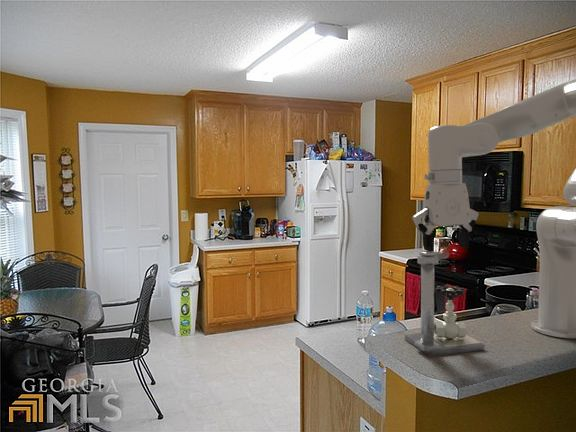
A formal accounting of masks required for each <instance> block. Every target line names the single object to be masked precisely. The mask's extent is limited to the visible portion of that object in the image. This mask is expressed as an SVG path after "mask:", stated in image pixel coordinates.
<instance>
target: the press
mask: <svg viewBox="0 0 576 432" xmlns="http://www.w3.org/2000/svg"><path fill="white" fill-rule="evenodd" d="M436 252H437V251H434V250H433V251H427V250H420V251H419V252H418V253H419V254H418V255H422V256H436ZM434 323H435V265H422V264H420V332H418V333H410V334H404V341H406V342H407V343H409V344H411V346H413V347H414V348H416V349H418V350H419V351H421V352H422V353H424V354H425V355H427V356H428V357H435V356H436V357H437V356H442V355H452V354H460V353H461V354H462V353H469V352H478V351H485V344H484V343H482V342H481V341H479V340H477V339H475V338H474V337H471V336H469V335H468V334H466V337H464V338H457V337H456V338H454V339H447V338H445V337H442V338H440V337H435V334H434Z"/></svg>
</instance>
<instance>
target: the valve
mask: <svg viewBox="0 0 576 432" xmlns="http://www.w3.org/2000/svg"><path fill="white" fill-rule="evenodd" d="M465 289H466V288H464V287H459V285H453V286H450V285H447V284H445V285H444V286H441V285H437V286H436V288H435V293H436V294H439V292H440V294H441V295H442V296H444V297H445V300H447V302H446V303H445V310H446V311H445V312H444V313H443V314H442V319H443V320H444V321H434V334H435V337H440V338H442V337H445V338H447V339H454V338H456V337H457V338H464V337H466V335H467V326H466V324H465V322H464V321H457V318H458V317H457V314H456V313H455V312H454V309H455V303H454V302H453V301H454V300H455V298H456V299H457V298H459V297H460V296H464V295H465V291H466V290H465Z"/></svg>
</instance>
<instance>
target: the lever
mask: <svg viewBox="0 0 576 432" xmlns="http://www.w3.org/2000/svg"><path fill="white" fill-rule="evenodd" d="M435 252H436V256H422V255H419V254H418V255H417V264H419V265H421V264H422V265H434V266H435V265H439V261H440V260H445V259H447V258H449V256H450V252H449V249H446V248H441V249H440V250H438V251H435Z"/></svg>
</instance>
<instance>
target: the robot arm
mask: <svg viewBox="0 0 576 432" xmlns="http://www.w3.org/2000/svg"><path fill="white" fill-rule="evenodd" d="M574 117H576V79H573V80H570V81H569V80H568V81H566V82H562V83H561V84H558V85H556V86H553V87H551V88H549V89H546V90H543V91H541V92H539V93H536V94H534V95H532V96H530V97H527V98H526V99H525V98H524V99H522V100H519V101H517V102H515V103H513V104H510V105H508V106H506V107H504V108H501V109H500V110H497V111H495V112H492V113H490V114H488V115H486V116H484V117H481V118H478V119H476V120H473V121H471V122H469V123H466V124H463V125H454V124H443V125H437V126H433V127H431V128H430V129H429V131H428V133H427V146H428V147H427V151H428V173H426V174H424V177H423V178H424V179H425V180H427V181H428V184H426V189H425V192H424V198H423V199H424V200H423V209H422V210H420V211H419V212H417V213H416V214H414V215H413V216H412V218H411V219H412V220H413V223H414V225H415V228H416V229H418V231H419V232H420V233H421V234H422V247H423V251H434V235H433V234H432V233H433V231H434V229H435V228H436V227H449V226H450V227H451V226H457V227H458V228H459V229H460V230H458V246H459V247H460V248H464V249H469V248H470V237H471V236H470V232H472V230H473V227H474V226H475V225H476V221H477V219H478V216H479V215H480V214H479V212H478V211H476V210H474V209H472V208H470V207H471V206H470V199H469V192H468V188H467V184H466V182H463V158H468V157H476V156H483V155H484V156H485V155H487V154H489V153H491V152H493V151H495V149H496V148H497V147H498V146H499V144H500V143H502V142H505V141H509V140H515V139H519V138H523V137H527V136H530V135H533V134H536V133H538V132H540V131H543V130H545V129H547V128H549V127H551V126H553V125H556V124H558V123H561V122H563V121H566V120H568V119H571V118H574ZM562 193H563V198H564V200H565V201H566V202H567V203H568V204H570V205H572V206H564V205H563V206H562V205H560V206H559V205H556V206H551V207H548V208H546V209H544V210H543V211H542V212H541V213H540V214H539V215H538V218H537V220H536V225H535V226H536V227H535V228H536V236H537V240H538V247H539V248H538V249H539V273H538V276H539V279H538V282H539V283H538V318H537V319H534V320H533V321H531V325H530V327H531V329H532V330H534V331H535V332H538V333H539V334H542V335H546V336H549V337H555V338H559V339H562V338H563V339H576V167H574V170H573V172H572V173H571V174H570V176H569V178H568V179H567V181H566V184H565V185H564V188H563V191H562ZM422 219H423V222H424V224H423V222H422Z"/></svg>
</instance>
